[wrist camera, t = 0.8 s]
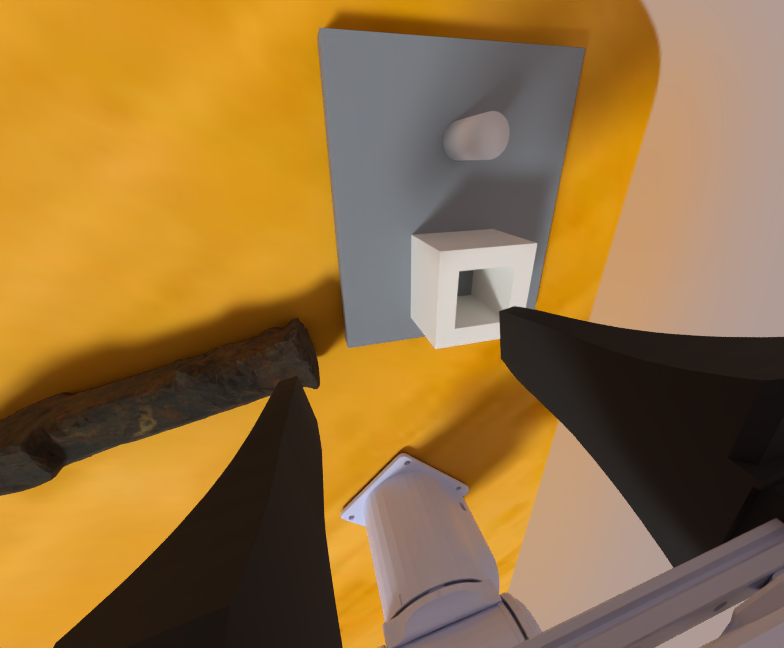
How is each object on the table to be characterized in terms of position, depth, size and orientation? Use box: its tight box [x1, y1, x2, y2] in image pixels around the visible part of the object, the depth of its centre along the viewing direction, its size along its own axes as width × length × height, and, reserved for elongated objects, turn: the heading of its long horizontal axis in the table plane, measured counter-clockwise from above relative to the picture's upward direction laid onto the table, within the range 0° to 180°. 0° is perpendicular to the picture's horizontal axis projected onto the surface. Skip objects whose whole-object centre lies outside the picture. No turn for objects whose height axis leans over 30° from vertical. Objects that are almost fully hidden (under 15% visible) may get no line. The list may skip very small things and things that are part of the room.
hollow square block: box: [411, 229, 537, 349], centre depth 18 cm, size 5×5×4 cm
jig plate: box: [318, 28, 585, 348], centre depth 17 cm, size 15×13×4 cm
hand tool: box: [0, 318, 320, 496], centre depth 17 cm, size 19×4×5 cm, turn 100°
